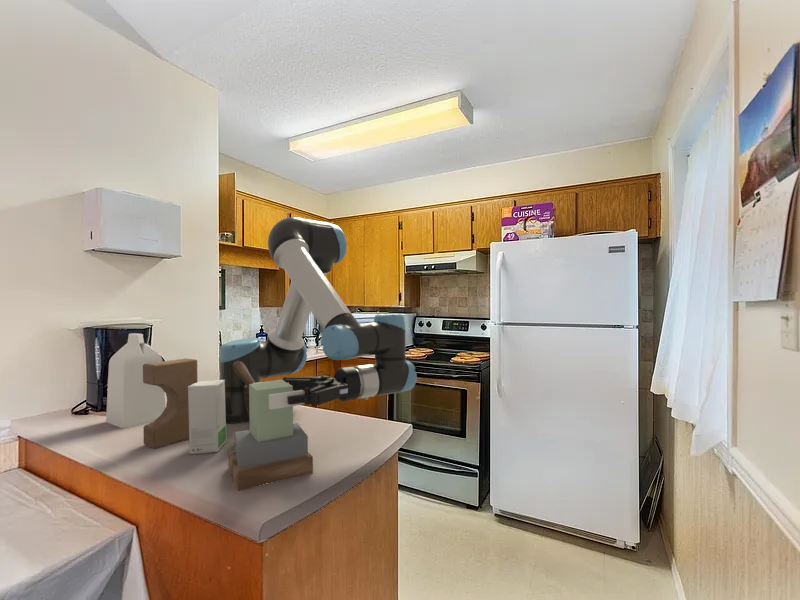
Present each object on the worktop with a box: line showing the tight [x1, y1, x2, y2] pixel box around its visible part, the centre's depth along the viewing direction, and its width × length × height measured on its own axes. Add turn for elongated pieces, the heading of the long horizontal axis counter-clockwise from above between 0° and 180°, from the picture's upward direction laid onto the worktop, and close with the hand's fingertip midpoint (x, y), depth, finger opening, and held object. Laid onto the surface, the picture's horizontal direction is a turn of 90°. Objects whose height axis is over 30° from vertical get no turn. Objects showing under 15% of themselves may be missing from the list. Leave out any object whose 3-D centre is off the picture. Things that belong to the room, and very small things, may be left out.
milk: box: [105, 333, 166, 429], centre depth 120 cm, size 12×12×26 cm
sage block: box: [249, 379, 294, 442], centre depth 82 cm, size 7×7×10 cm
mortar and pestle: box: [232, 361, 268, 430], centre depth 103 cm, size 12×9×20 cm
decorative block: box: [142, 358, 199, 449], centre depth 101 cm, size 11×6×20 cm, turn 145°
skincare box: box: [188, 379, 227, 455], centre depth 95 cm, size 8×7×16 cm
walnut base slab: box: [228, 450, 314, 492], centre depth 81 cm, size 12×14×4 cm
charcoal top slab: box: [234, 422, 309, 469], centre depth 82 cm, size 10×13×4 cm
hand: (260, 395), depth 80 cm, fingers open, 13 cm apart
